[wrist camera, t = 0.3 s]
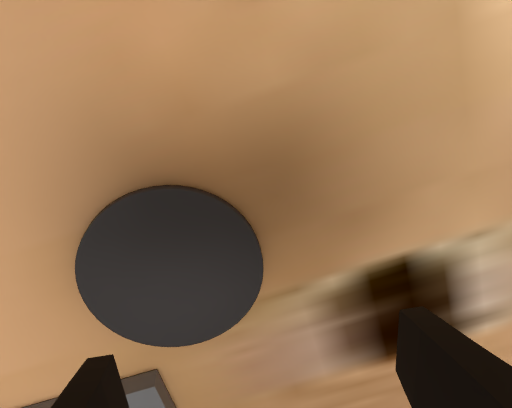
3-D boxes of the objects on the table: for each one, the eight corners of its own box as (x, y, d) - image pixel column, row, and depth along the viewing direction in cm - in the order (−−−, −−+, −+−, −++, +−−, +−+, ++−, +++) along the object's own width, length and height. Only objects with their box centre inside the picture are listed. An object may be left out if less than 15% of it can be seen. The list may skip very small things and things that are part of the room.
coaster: (278, 312, 22) (280, 319, 22) (121, 357, 22) (118, 365, 22) (235, 162, 18) (236, 166, 18) (45, 216, 18) (40, 221, 18)
